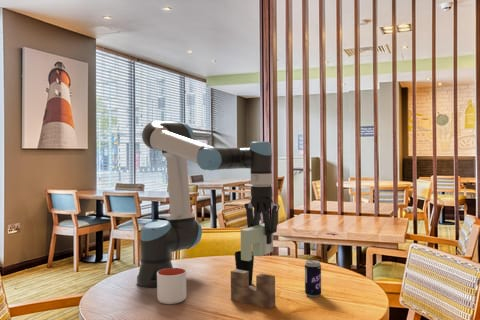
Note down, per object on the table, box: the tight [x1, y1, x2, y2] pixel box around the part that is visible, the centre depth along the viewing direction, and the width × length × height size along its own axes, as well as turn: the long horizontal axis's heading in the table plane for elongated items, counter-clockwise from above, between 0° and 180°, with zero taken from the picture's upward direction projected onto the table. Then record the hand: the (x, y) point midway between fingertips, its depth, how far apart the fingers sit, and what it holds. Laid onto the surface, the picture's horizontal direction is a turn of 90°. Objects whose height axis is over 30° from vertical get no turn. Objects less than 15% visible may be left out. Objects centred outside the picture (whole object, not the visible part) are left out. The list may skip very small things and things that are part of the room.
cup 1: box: [156, 267, 187, 305], centre depth 146 cm, size 10×10×10 cm
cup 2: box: [234, 250, 255, 286], centre depth 164 cm, size 8×8×12 cm
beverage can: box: [304, 259, 322, 298], centre depth 149 cm, size 6×6×12 cm
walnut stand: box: [230, 268, 276, 310], centre depth 142 cm, size 16×3×10 cm, turn 55°
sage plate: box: [240, 223, 274, 261], centre depth 145 cm, size 16×3×10 cm, turn 145°
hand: (262, 252), depth 148 cm, fingers closed on sage plate, 3 cm apart
